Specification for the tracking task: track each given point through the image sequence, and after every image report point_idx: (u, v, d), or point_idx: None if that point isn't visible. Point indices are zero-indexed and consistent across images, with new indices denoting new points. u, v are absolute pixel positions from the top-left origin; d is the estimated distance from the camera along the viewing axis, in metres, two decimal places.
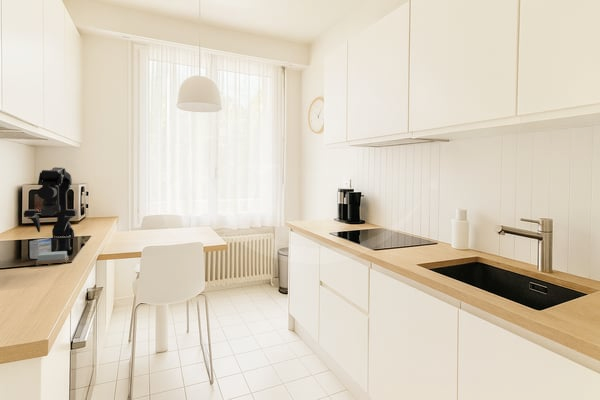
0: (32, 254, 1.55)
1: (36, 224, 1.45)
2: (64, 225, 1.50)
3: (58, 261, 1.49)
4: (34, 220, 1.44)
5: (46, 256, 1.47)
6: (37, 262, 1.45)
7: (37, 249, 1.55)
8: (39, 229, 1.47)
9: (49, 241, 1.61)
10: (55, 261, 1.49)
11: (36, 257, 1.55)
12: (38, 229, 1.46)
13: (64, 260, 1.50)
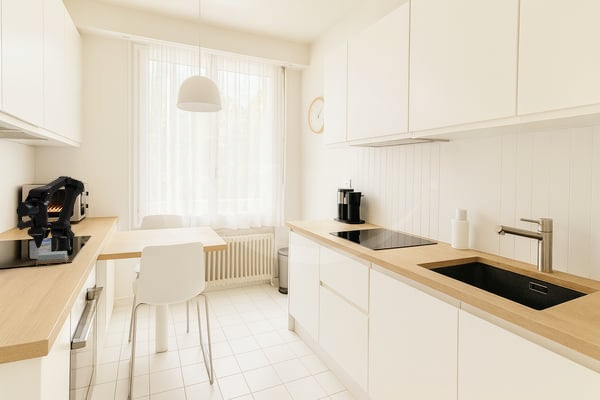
0: (32, 254, 1.55)
1: None
2: None
3: (58, 261, 1.49)
4: None
5: (46, 256, 1.47)
6: (37, 262, 1.46)
7: (37, 249, 1.55)
8: None
9: (49, 241, 1.61)
10: (55, 261, 1.49)
11: (36, 257, 1.55)
12: None
13: (64, 260, 1.50)
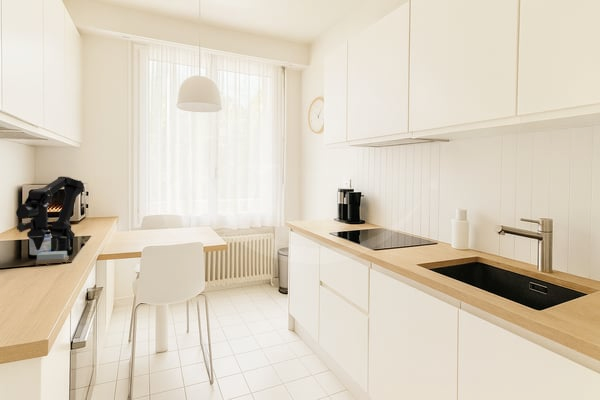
0: (31, 250, 1.55)
1: None
2: None
3: (58, 261, 1.49)
4: None
5: (45, 256, 1.47)
6: (37, 262, 1.46)
7: None
8: None
9: (49, 237, 1.61)
10: (55, 261, 1.49)
11: (36, 253, 1.55)
12: None
13: (64, 260, 1.50)
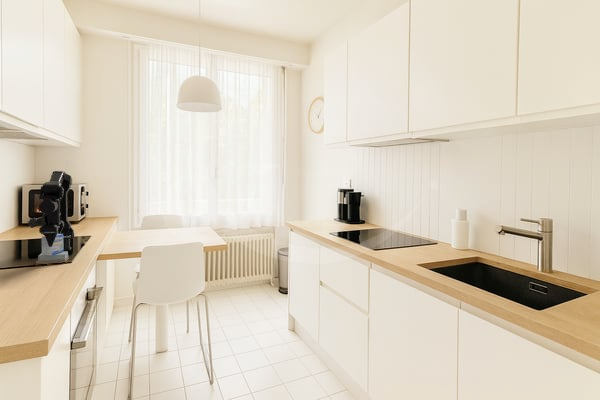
0: (44, 251, 1.47)
1: None
2: None
3: (58, 262, 1.49)
4: None
5: (46, 256, 1.48)
6: (37, 263, 1.46)
7: None
8: None
9: (61, 237, 1.53)
10: (55, 262, 1.49)
11: (49, 254, 1.47)
12: None
13: (64, 261, 1.50)
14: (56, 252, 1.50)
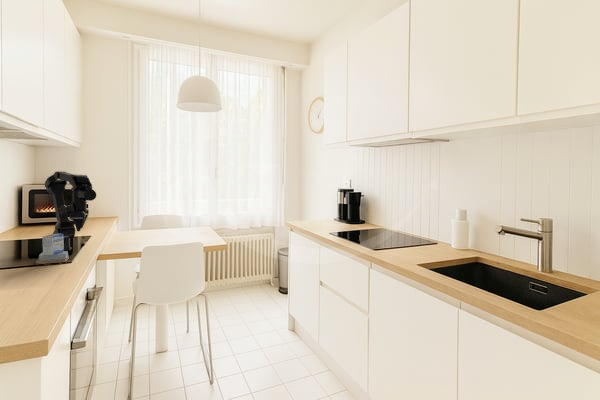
0: (45, 250, 1.47)
1: None
2: None
3: (58, 261, 1.49)
4: None
5: (47, 256, 1.48)
6: (37, 262, 1.46)
7: (51, 245, 1.47)
8: None
9: (62, 236, 1.54)
10: (55, 261, 1.49)
11: (50, 253, 1.47)
12: None
13: (64, 260, 1.50)
14: (57, 252, 1.51)
